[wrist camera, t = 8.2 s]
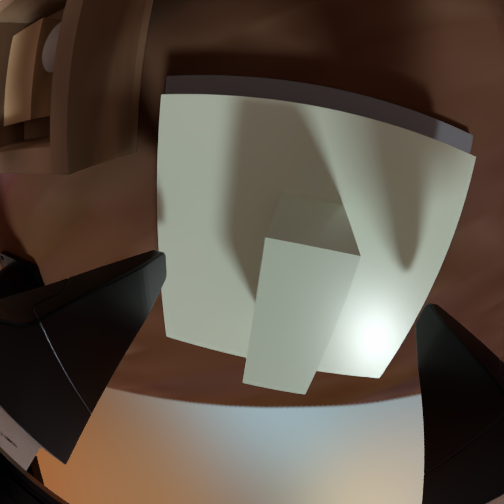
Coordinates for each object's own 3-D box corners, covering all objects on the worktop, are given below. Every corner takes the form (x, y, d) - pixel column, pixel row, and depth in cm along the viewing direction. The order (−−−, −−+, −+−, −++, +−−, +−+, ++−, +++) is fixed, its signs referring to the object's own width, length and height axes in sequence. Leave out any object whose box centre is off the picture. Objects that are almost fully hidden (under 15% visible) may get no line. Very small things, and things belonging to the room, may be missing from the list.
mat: (169, 318, 16) (167, 321, 16) (170, 76, 10) (167, 76, 9) (383, 359, 14) (383, 363, 14) (469, 134, 8) (473, 135, 8)
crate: (24, 153, 13) (-28, 173, 9) (36, 16, 8) (-15, 14, 4) (136, 151, 12) (68, 174, 8) (162, -34, 7) (108, -69, 3)
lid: (182, 309, 15) (135, 389, 10) (187, 97, 10) (91, 93, 5) (374, 347, 14) (385, 437, 9) (449, 148, 8) (540, 184, 4)
